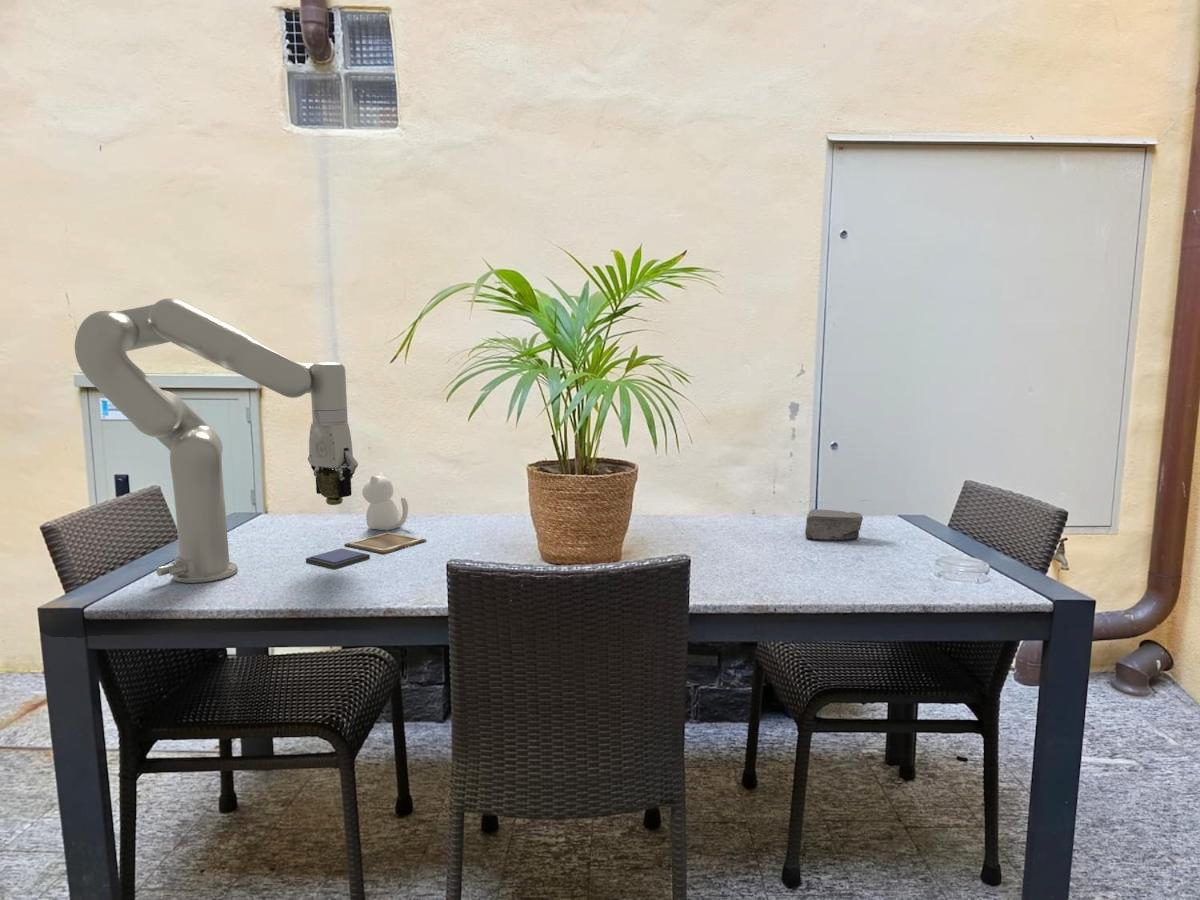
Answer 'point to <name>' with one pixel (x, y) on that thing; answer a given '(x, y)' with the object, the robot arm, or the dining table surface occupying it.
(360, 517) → the dining table surface
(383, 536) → the marked board
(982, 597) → the dining table surface
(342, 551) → the ink pad
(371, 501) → the cat figurine
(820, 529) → the decorative stone
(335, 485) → the cup
